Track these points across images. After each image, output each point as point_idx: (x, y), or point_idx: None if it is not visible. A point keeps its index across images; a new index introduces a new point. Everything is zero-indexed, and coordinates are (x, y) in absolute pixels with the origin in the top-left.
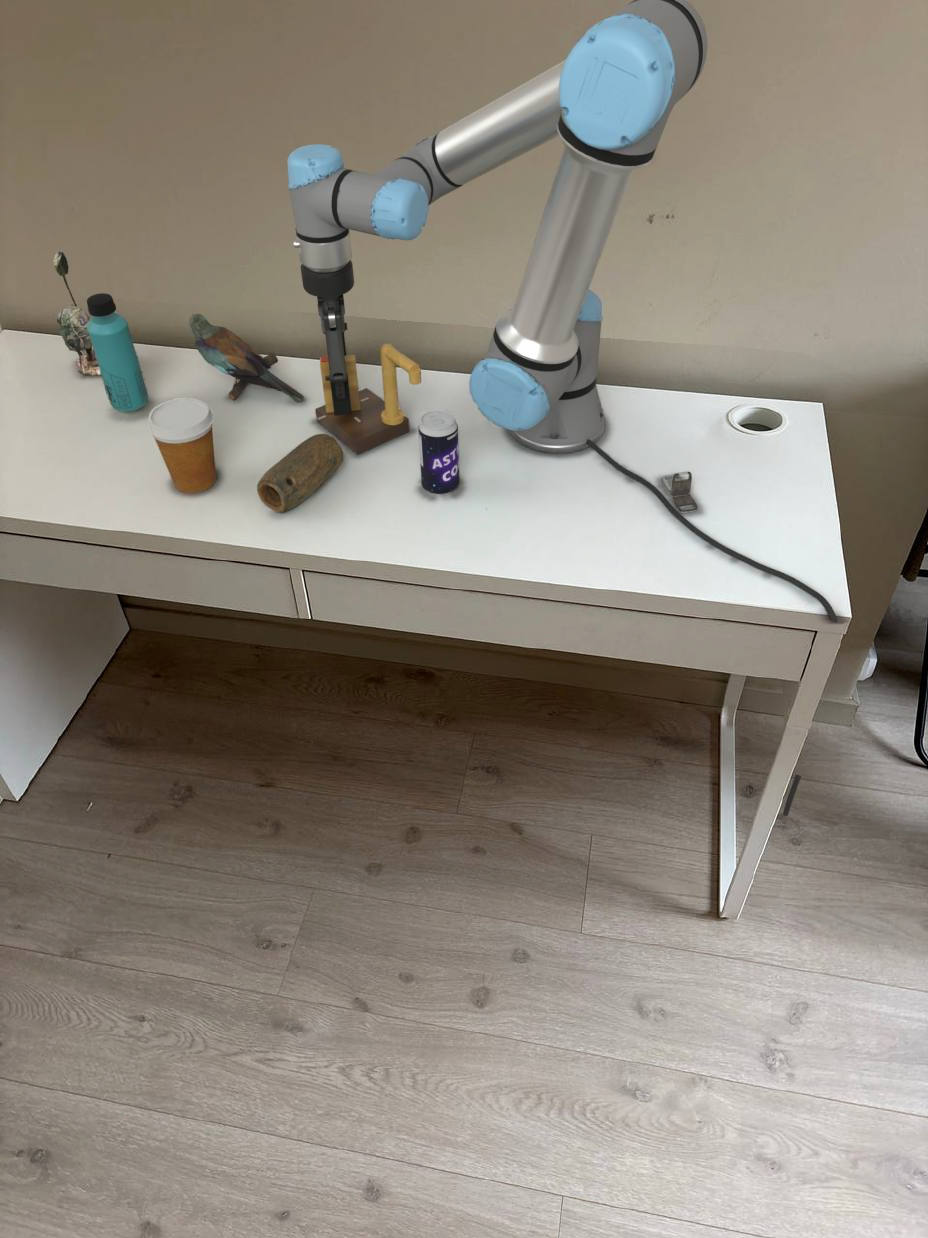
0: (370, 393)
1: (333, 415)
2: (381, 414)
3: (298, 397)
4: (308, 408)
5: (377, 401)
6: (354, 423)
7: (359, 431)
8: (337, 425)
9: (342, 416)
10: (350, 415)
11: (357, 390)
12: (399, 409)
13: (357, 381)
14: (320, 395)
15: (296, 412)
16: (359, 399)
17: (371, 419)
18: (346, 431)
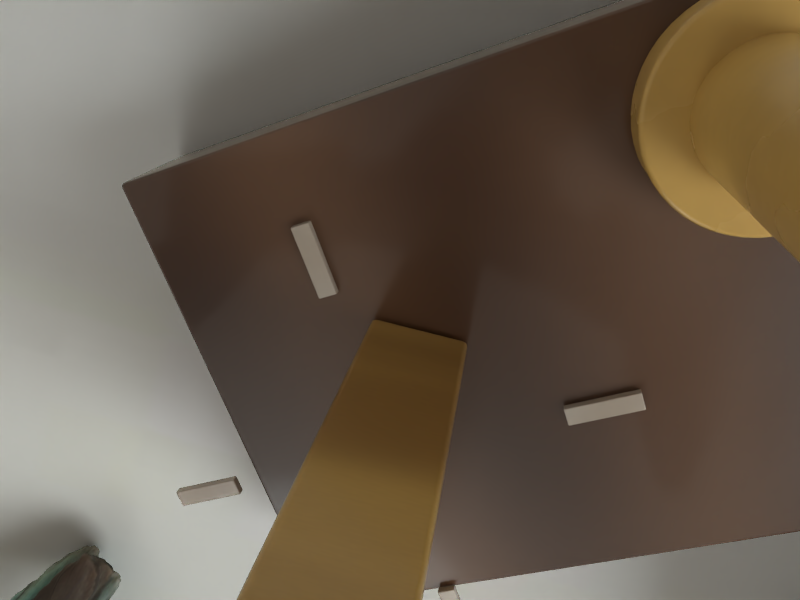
0: (223, 179)
1: (455, 536)
2: (719, 230)
3: (100, 590)
4: (181, 527)
5: (377, 159)
6: (645, 443)
7: (786, 445)
8: (608, 556)
9: (499, 489)
10: (509, 433)
11: (444, 464)
12: (728, 10)
13: (432, 534)
14: (49, 427)
15: (206, 592)
16: (456, 394)
17: (651, 299)
18: (726, 527)
